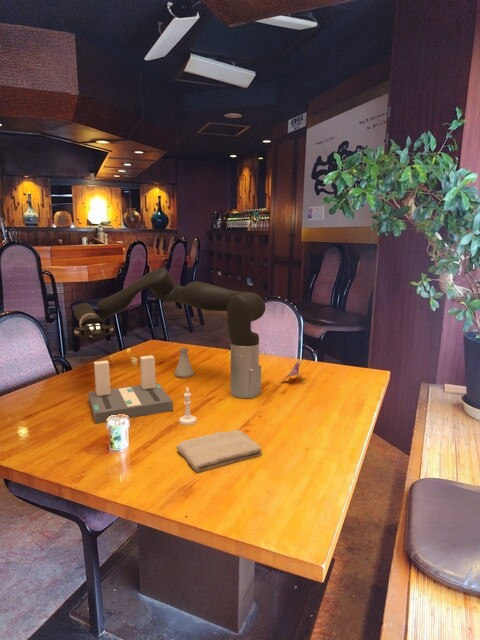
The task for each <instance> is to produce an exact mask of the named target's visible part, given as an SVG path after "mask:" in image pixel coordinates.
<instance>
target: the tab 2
mask: <svg viewBox="0 0 480 640" xmlns="http://www.w3.org/2000/svg"><path fill="white" fill-rule="evenodd" d="M155 359H156V358H155V357H154V355H143V356H140V357H139V364H140V385H141V387H142V388H143V390H144V389H151V388H156V383H157V382H156V363H155V362H156V361H155Z"/></svg>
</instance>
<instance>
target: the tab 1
mask: <svg viewBox="0 0 480 640" xmlns="http://www.w3.org/2000/svg"><path fill="white" fill-rule="evenodd" d="M93 367H94V381H95V382H94V383H95V384H94V385H95V391H96V394H97V396H102V395H109V394H111V391H110V389H111V376H110V375H111V374H110V362H109V360H99V361H94V362H93Z"/></svg>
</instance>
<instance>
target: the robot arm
mask: <svg viewBox="0 0 480 640" xmlns="http://www.w3.org/2000/svg"><path fill="white" fill-rule="evenodd" d="M147 288H149V289H150V291H151V293H152V294H153V295H154V297H155V298H157V299H158V300H160V301H165V302H173V303H178V304H183V305H186V306H190V307H193V308H195V309H200V310H203V311H214V312H226V317H227V320H226V321H227V333H228V336H229V338H230V339H229V340H230V394H231V396H233V397H235V398H238V399H251V400H252V399H254V398H256V397H257V396H259V395H261V392H262V365H260V362H259V361H260V357H259V356H260V335H259V334H258V333H257V332H254V331H252V328H251V327H252V325H251V322H254V321H258V319H261V318H262V317H263V316H264V314H265V312H266V303H265V300H264V299H263V298H262V297H261V296H260V295H258V294H257V293H255V292H248V291H237V290H232V289H228V288H224V287H221V286H218V285H214V284H210V283H206V282H202V281H192V282H189V283H188V284H186V285H185V286H184V285H183V286H182V285H180V284H177V283H176V281H174V279H173V277H172V276H171V274H170V272H169V271H168V269H167V268H164V267H158V268H155V269H153V270H151V271H149V272H148V273H146V274H144V275H143V276H142V277H140V278H138V279H137V280H135V281H134V282H132V283H131V284H129V285H127V286H126V287H125V288H123V289H122V290H120V291H118V292H115V293H114V294H112V295H110V296H108V297H105V298H103V299H101V300H99V301H98V303H97V309H98V313H99V315H98V314H97V313H96V311H95V310H94V308H93V306H92V305H91V304H90V303H89V302H87V303H86V302H82V303H80V304H79V305H76V307H75V308H74V310H73V315H74V316H75V318H76V320H77V321H78V323H79V327H74V328H73V332H74V336H75V337H83V338H89V339H94V340H100V339H101V338H102V337H105V336H108V335H111V334H113V333H114V325H113V324H110V325H107V324H104V321H105V320H108V319H109V318H110V317H112V316H114V315H116V314H119V313H121V312H123V311H124V310H126V309H127V308H128V307H129V306H130V305H131V303H132V302H133V300H134V299H135V298H136V297H137V295H138V294H139V293H140V292H141V291H143V290H145V289H147Z"/></svg>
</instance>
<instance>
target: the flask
mask: <svg viewBox="0 0 480 640" xmlns="http://www.w3.org/2000/svg"><path fill="white" fill-rule="evenodd" d="M178 351H179V357H178V359H179V360H178V361H177V365H176V368H175V370H174V374H173V375H174V376H175V377H177V378H184V379H187V378H191V377H193V376H194V375H195V372H194V369H193V367H192V365H191V362H190V359H189V356H188V355H189V354H188V351H189V349H188V348H179V349H178Z"/></svg>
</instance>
